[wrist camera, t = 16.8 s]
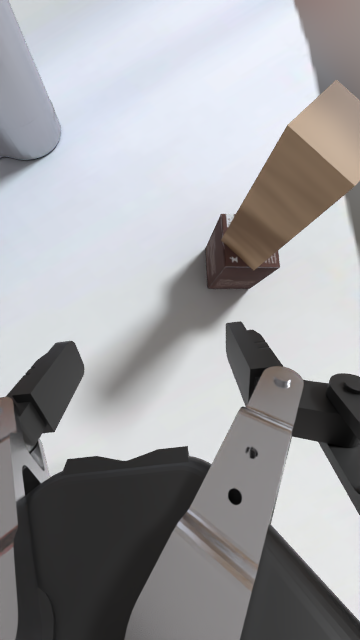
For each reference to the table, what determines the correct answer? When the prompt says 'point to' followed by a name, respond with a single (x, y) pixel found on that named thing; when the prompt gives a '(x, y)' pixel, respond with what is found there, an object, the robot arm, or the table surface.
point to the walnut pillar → (300, 176)
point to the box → (232, 262)
